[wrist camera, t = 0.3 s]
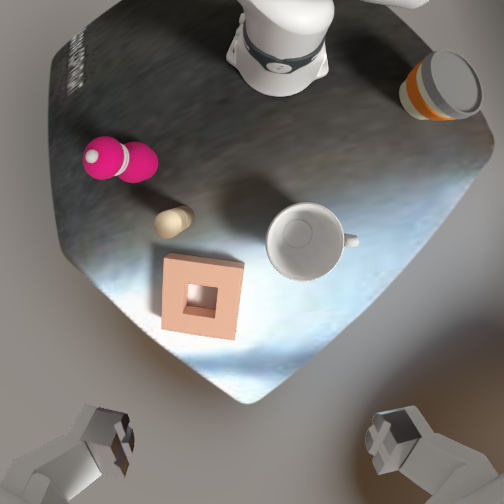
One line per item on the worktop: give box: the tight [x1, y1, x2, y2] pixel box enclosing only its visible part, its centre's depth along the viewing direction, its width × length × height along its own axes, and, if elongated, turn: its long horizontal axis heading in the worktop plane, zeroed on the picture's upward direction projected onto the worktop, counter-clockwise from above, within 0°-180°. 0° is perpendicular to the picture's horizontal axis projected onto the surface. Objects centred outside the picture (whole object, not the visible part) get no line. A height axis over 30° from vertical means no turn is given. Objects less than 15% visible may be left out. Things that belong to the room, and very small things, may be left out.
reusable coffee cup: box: [399, 49, 483, 121], centre depth 40 cm, size 13×13×15 cm
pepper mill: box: [83, 136, 158, 183], centre depth 41 cm, size 7×7×20 cm
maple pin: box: [154, 206, 194, 238], centre depth 48 cm, size 4×4×11 cm
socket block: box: [161, 253, 244, 340], centre depth 54 cm, size 14×14×4 cm
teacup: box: [266, 202, 359, 282], centre depth 49 cm, size 12×15×10 cm
